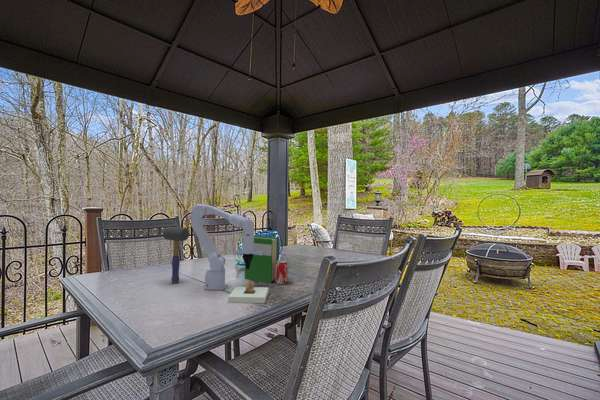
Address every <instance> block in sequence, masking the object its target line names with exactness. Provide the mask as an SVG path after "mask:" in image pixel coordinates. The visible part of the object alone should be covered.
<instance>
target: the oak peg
mask: <svg viewBox="0 0 600 400" xmlns="http://www.w3.org/2000/svg"><path fill="white" fill-rule="evenodd" d="M245 287H246V294H254V287H255V281H253V280H247V281H246V282H245Z"/></svg>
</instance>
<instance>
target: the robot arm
mask: <svg viewBox="0 0 600 400" xmlns="http://www.w3.org/2000/svg"><path fill="white" fill-rule="evenodd" d="M191 208H192V209H191V210H190V215H191V216H190V226H191V228H192V229H193V232H194V233H195V235H196V237H197V239H198V241H199V242H200V244H201V246H202V247H203V249H204V251H205V252H206V254H207V260H208V262H209V267H210V269H207V270H206V271H205V274H204V288H203V289H204V290H215V291H224V290H225V288H226V287H227V286H228V284H227V283H226V268H225V264H226V258H225V257H224V256H223V255H222V254H221V253H220V252H219V251H218V249H217V248H216V246H215V244H214V242H213V240H212V239H211V237H210V235H209V234H208V232H207V230H206V228H205V226H204V225H203V222H204V220H205V217H206V216H208V215H213V216H216V217H219V218H222V219H225V220H227V221H228V223H229V224H231V225H233V226H235V227H238V228H242V229H243V233H242V250H238V249H237V250H234V251H233V255H234V256H237V255H241V256H242V257H241V258H242V260H243V262H244V266H245V265H246V269H249V268H250V263H251V261H252V258H253V256H254V255H262V251H255V250H254V236H255V233H254V232H255V229H254V228H255V221H254V220H252V219H251V218H248V217H247V216H243V215H240V213H238V212H236V213H235V212H233V213H229V212H226V211H225V210H223V209H220V208H218V207H215V206H213V205H209V204H205V203H197V204H194V205H193V207H191Z"/></svg>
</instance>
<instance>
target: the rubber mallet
mask: <svg viewBox="0 0 600 400" xmlns="http://www.w3.org/2000/svg"><path fill="white" fill-rule="evenodd" d="M162 232H163V233H162V236H163V238H164V240H168V241H173V248H172V249H173V250H172V259H171V269H172V272H171V282H172V283H173V284H177V283H179V281H180V272H179V271H180V255H179V242H183V241H184V242H185V241H187V240H188V239H189V236H190V231H189V229H188V228H187V227H183V226H182V227H181V226H167V227H165V228H164V230H163V231H162Z"/></svg>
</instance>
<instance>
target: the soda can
mask: <svg viewBox="0 0 600 400" xmlns="http://www.w3.org/2000/svg"><path fill="white" fill-rule="evenodd" d="M288 282H289V264H288V261H287V260H286V259H280V260H279V259H278V261H277V263H276V265H275V280H274V283H276V284H277V285H286V284H287V283H288Z"/></svg>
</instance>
